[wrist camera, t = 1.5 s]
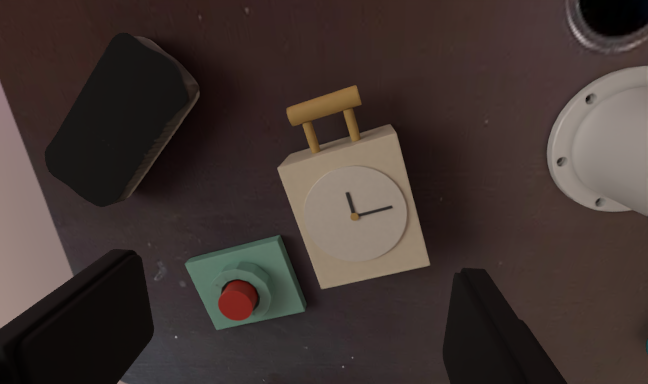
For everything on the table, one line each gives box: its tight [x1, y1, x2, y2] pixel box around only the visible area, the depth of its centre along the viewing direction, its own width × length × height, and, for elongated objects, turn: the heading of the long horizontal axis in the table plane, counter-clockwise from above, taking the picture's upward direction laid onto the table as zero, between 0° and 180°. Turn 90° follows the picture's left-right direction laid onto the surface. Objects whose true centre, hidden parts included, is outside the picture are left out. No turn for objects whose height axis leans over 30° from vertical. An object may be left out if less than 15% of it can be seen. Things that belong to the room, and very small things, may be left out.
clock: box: [277, 85, 430, 289], centre depth 31 cm, size 10×16×6 cm, turn 18°
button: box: [218, 280, 258, 321], centre depth 35 cm, size 4×4×2 cm
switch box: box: [185, 235, 307, 330], centre depth 37 cm, size 11×9×3 cm
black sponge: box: [45, 33, 200, 207], centre depth 32 cm, size 16×8×4 cm, turn 138°
